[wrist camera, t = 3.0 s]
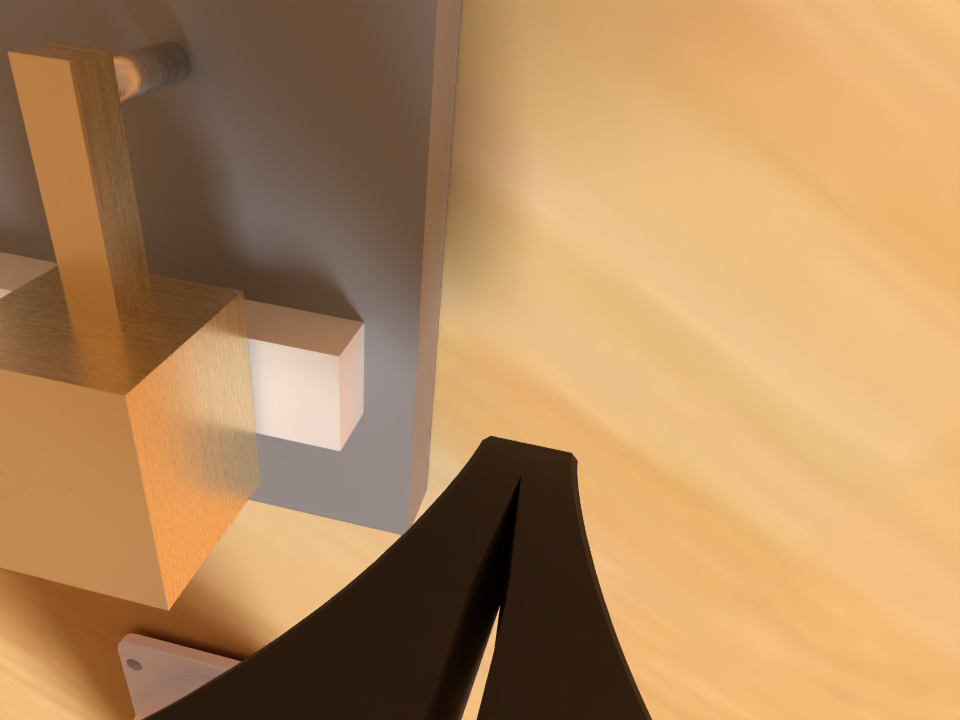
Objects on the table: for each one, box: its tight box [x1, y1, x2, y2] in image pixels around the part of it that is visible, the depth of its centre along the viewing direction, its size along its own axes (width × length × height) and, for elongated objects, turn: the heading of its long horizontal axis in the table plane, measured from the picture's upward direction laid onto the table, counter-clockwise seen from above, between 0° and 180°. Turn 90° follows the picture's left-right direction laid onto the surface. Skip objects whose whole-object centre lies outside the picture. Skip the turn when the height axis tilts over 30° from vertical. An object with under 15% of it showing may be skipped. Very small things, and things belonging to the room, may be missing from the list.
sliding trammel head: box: [0, 41, 260, 611], centre depth 11 cm, size 8×3×4 cm, turn 175°
